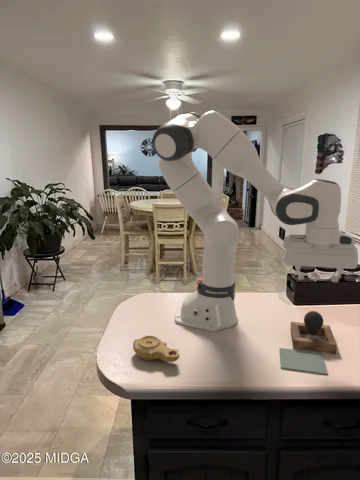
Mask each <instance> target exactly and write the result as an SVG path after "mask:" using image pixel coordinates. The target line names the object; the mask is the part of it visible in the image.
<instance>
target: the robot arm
mask: <svg viewBox="0 0 360 480" xmlns="http://www.w3.org/2000/svg"><path fill="white" fill-rule="evenodd" d="M151 142H152V148H153V151H154V153H155V154H156V155H157V157H159V158H160V160H159V161H158V168H159V171H160V173H161V175H162V177H163V179H164V181H165V182H166V185H167V186H168V187H169V189H170V190H171V191H172V193H173V194H174V196H175V197H176V198H177V199H178V201H179V203H180V205H181V206H182V207H183V208H184V209H185V212H187V213H188V214H189V216H190V217H191V219H192V220H193V222H195V224H196V225H197V227H198V228H199V229H200V230H201V232H202V233H203V256H202V277H199V278H198V280H197V283H196V290H195V291H194V292H192V293H191V294H189V295H187V296H186V297H185V298H184V300H183V301H182V305H181V307H179V309H178V310H177V311H176V312H175V316H174V322H175V324H178V325H181V326H182V325H183V326H187V327H192V328H196V329H201V330H206V331H210V332H218V331H220V330H223V329H227V328H230V327H233V326H234V325H236V324H237V323H238V320H239V319H238V317H237V311H236V305H235V299H236V282H235V264H236V262H235V261H236V254H237V251H238V250H237V249H238V242H239V237H240V230H239V226H238V223H237V222H236V220H235V219H234V218H233V217H231V215H230V214H229V212H228V211H227V209H225V207H224V206H223V204H222V203H221V201H220V199H219V198H218V196H217V195H216V193H215V191H214V190H213V188H212V187H211V186H210V184H209V183H208V180H207V179H206V178H205V177H204V176H203V174H202V172H201V171H200V170H199V169H198V166H196V164H195V162H194V161H193V157H192V154H193V153H194V152H196V151H197V149H200V150H203V151H204V152H206V153H207V154H208V156H210V157H211V159H213V160H214V162H216V163H217V164H218V165H219V166H221V168H223V169H224V170H226V171H227V172H229V173H231V174H232V175H234V176H236V177H240V178H242V179H244V180H246V181H247V182H249V184H251V185H252V186H253V187H254V188H255V189H256V190H257V191H258V192H259V193H260V194H261V195H262V196H263V197H265V199H266V200H267V201H268V203H269V206H270V209H271V212H272V213H273V215H275V216H276V218H277V219H278V220H279V221H280V222H281V223H283V224H285V225H288V226H295V225H296V226H297V225H303V224H305V232H304V234H289V235H287V236H285V237H284V239H283V248H284V254H283V263H284V264H285V265H286V266H295V267H294V268H295V271H296V272H297V275H298V277H297V278H298V280H299V281H303V280H305V273H304V272H301V267H310V268H311V267H312V268H313V267H315V268H330V269H336V270H337V271H336V273H334V274H331V282H332V283H338V282H339V277H340V276H341V275H342V274H344V273H343V272H344V269H347V270H348V269H349V270H350V269H351V270H354V269H356V268H357V267H358V266H359V265H358V263H359V252H358V248H357V247H356V246H355V244H356V241H357V239H356V238H355V236H354V235H353V234H351V233H349V232H346V231H343V230H340V229H339V228H340V224H339V215H340V214H341V208H342V207H341V206H342V189H341V187H340V186H341V185H339V184H338V183H337V182H336V181H331V180H327V179H321V178H313V179H312V180H310V181H309V182H308V183H306V184H304V185H302V186H300V187H298V188H295V189H294V188H291V187H288V186H285V185H283V183H281V182H280V181H279V180H278V179H277V178H276V177H275V176H274V175H273V174H272V172H270V171H269V170H268V169H267V168H266V167H265V165H263V163H262V161H261V159H260V156H259V154H258V150H257V148H256V147H255V145H254V144H253V142H252V141H251V140H250V138H249V137H248V136H247V135H246V134H245V132H244V131H243V130H242V129H240V128H239V127H238V126H237V125H236V123H234V122H232V121H231V120H230V119H228V117H226V116H225V115H223V114H222V113H220V112H219V111H215V110H209V111H205V112H204V113H203V114H199V113H197V112H194V111H193V112H192V111H187V112H183V113H182V114H179V115H177V116H175V117H172V118H170V119H169V120H168V121H166V123H163V124H161V125H160V126H159V127H158V128H157V129H156V131H155V132H154V134H153V137H152V141H151Z"/></svg>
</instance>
